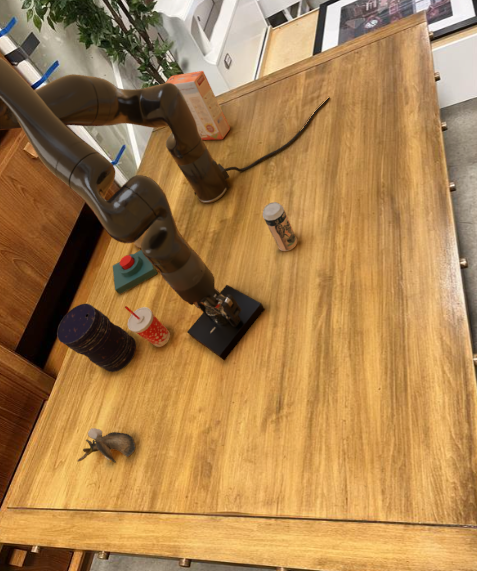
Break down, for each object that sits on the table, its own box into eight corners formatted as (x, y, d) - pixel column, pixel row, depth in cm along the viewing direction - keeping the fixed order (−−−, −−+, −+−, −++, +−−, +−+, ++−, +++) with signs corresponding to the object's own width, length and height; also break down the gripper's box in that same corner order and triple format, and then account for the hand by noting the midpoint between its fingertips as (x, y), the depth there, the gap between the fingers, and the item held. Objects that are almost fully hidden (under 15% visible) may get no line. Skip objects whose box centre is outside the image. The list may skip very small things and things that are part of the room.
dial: (213, 326, 83) (203, 315, 80) (215, 311, 86) (206, 299, 82) (230, 324, 82) (221, 313, 78) (232, 308, 84) (223, 296, 81)
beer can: (292, 253, 90) (276, 218, 81) (275, 250, 92) (257, 216, 84) (301, 237, 92) (286, 201, 83) (283, 235, 94) (267, 199, 85)
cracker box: (231, 128, 133) (203, 69, 117) (222, 140, 130) (193, 81, 115) (201, 129, 141) (171, 74, 125) (192, 140, 138) (161, 85, 123)
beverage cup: (177, 337, 89) (142, 305, 79) (156, 355, 89) (118, 325, 78) (166, 321, 93) (132, 289, 83) (146, 338, 93) (109, 308, 82)
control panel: (230, 290, 91) (226, 284, 89) (265, 309, 84) (261, 302, 82) (192, 337, 87) (186, 331, 86) (224, 360, 81) (219, 355, 79)
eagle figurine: (87, 477, 76) (119, 474, 72) (68, 449, 75) (99, 444, 70) (111, 447, 83) (142, 443, 78) (94, 421, 81) (124, 415, 77)
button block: (152, 250, 111) (144, 241, 108) (157, 273, 105) (149, 264, 102) (117, 270, 113) (108, 261, 110) (119, 294, 106) (110, 286, 103)
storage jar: (105, 380, 90) (58, 352, 79) (98, 349, 97) (54, 320, 86) (140, 356, 90) (98, 326, 79) (131, 327, 97) (92, 295, 86)
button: (134, 256, 107) (130, 252, 106) (135, 265, 105) (131, 261, 103) (122, 263, 107) (119, 259, 106) (124, 271, 105) (120, 267, 104)
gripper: (226, 264, 68) (259, 312, 81) (171, 250, 77) (208, 296, 89) (203, 298, 66) (241, 343, 78) (149, 280, 74) (190, 323, 86)
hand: (223, 318), depth 83 cm, fingers open, 6 cm apart
